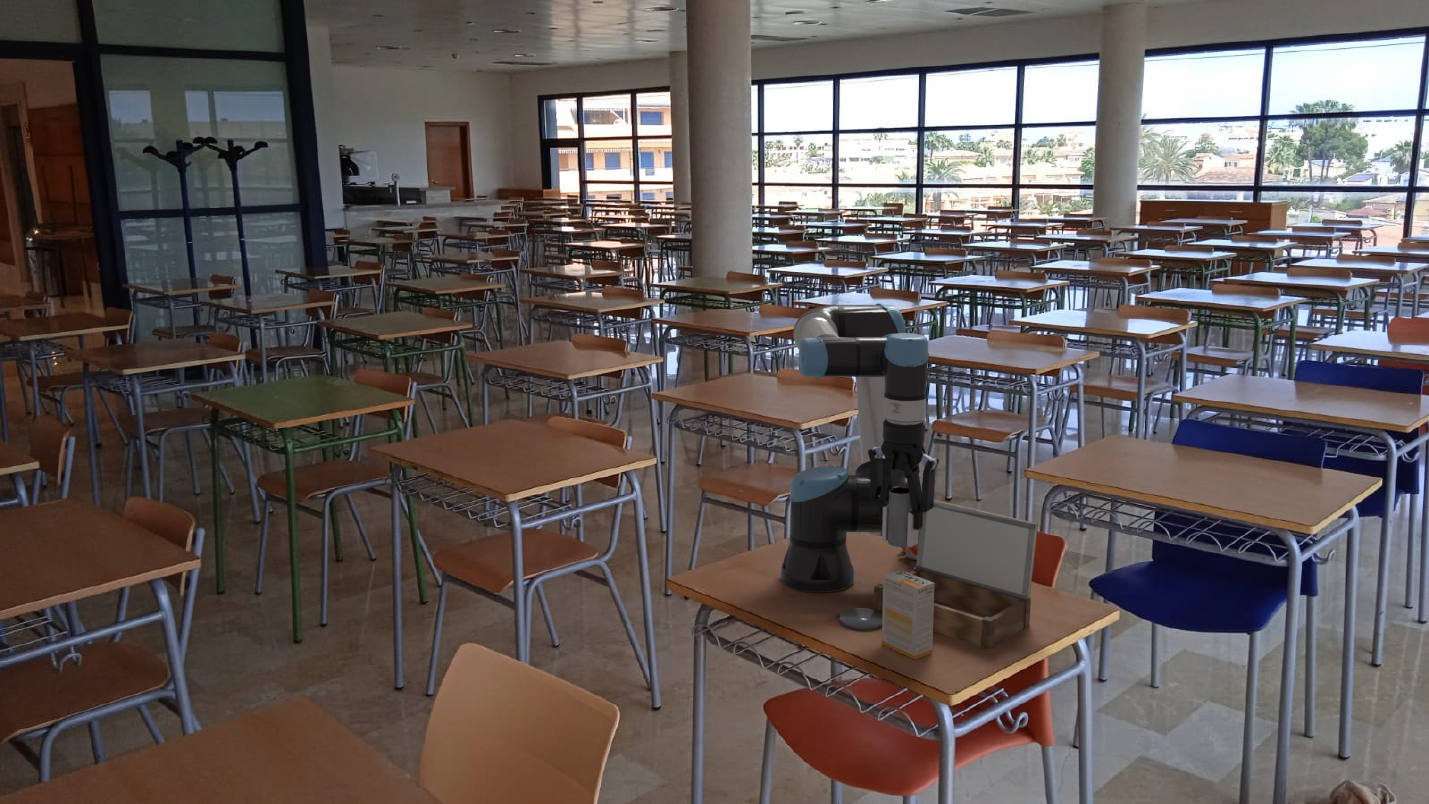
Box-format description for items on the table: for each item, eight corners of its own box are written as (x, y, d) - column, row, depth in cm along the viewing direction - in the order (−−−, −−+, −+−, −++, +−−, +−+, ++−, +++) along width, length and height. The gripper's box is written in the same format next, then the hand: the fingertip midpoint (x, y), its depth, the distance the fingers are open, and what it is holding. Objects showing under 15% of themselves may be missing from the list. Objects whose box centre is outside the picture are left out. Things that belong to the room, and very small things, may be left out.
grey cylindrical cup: (883, 544, 194) (884, 490, 192) (894, 537, 198) (896, 484, 196) (905, 549, 192) (907, 495, 189) (916, 542, 195) (918, 489, 193)
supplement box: (933, 653, 183) (936, 582, 180) (914, 660, 180) (916, 588, 177) (899, 637, 189) (901, 568, 187) (880, 644, 186) (882, 574, 184)
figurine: (943, 558, 230) (941, 508, 226) (921, 569, 226) (919, 518, 222) (912, 545, 237) (910, 497, 233) (891, 555, 233) (888, 506, 230)
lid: (922, 498, 207) (925, 497, 208) (914, 569, 209) (918, 568, 210) (1034, 524, 191) (1038, 523, 192) (1026, 601, 192) (1029, 599, 193)
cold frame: (873, 612, 201) (874, 585, 199) (916, 591, 211) (917, 566, 210) (989, 650, 184) (990, 621, 183) (1029, 625, 194) (1030, 598, 193)
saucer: (830, 621, 197) (830, 617, 196) (857, 608, 203) (857, 604, 202) (867, 633, 191) (867, 629, 191) (894, 620, 197) (894, 616, 197)
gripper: (851, 416, 192) (848, 536, 197) (938, 431, 181) (932, 558, 186) (872, 409, 198) (869, 526, 203) (958, 423, 187) (952, 546, 192)
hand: (899, 541), depth 195 cm, fingers closed on grey cylindrical cup, 4 cm apart
